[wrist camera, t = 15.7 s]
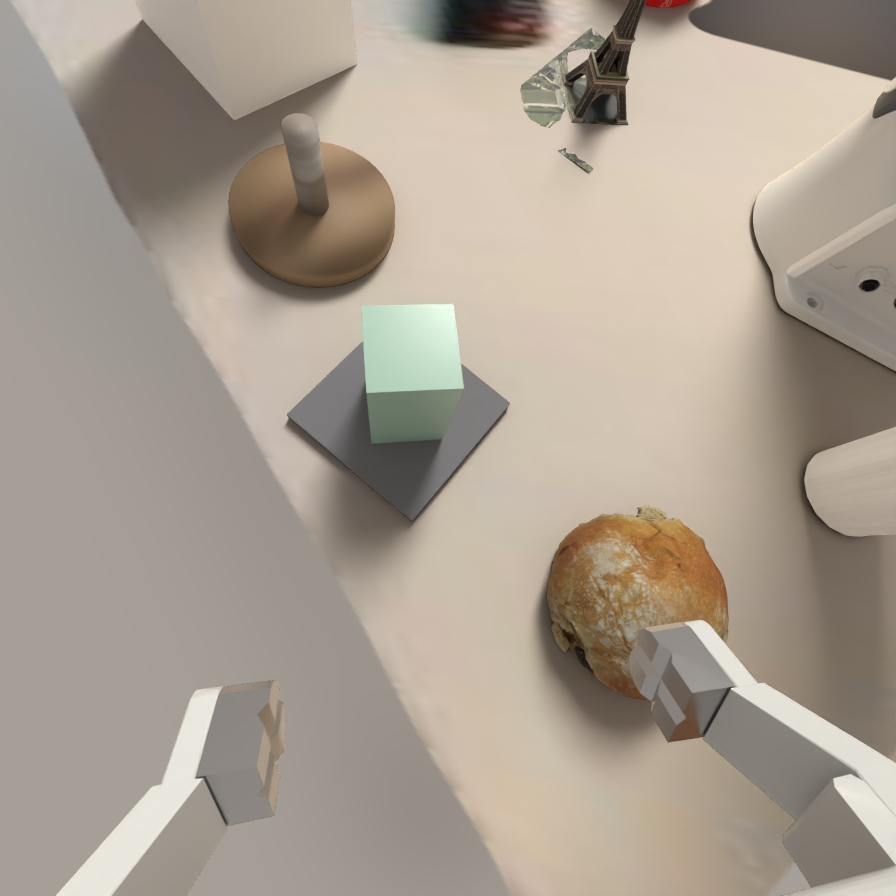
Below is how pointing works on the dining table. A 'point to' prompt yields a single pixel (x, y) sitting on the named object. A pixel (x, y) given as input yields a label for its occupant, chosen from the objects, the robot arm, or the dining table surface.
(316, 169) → the post stand
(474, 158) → the dining table surface
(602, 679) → the bread roll
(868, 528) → the cup
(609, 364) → the dining table surface
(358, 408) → the charcoal mat
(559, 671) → the dining table surface
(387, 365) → the mint rectangular pillar
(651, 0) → the kitchen timer
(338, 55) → the milk
